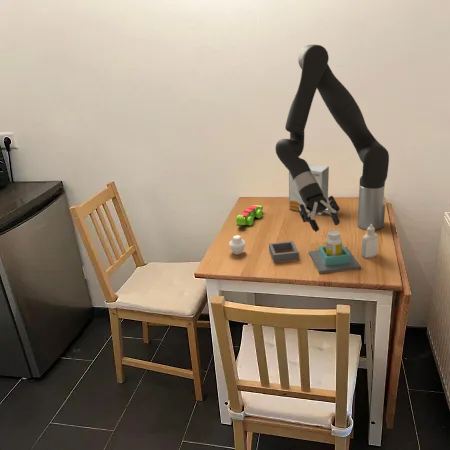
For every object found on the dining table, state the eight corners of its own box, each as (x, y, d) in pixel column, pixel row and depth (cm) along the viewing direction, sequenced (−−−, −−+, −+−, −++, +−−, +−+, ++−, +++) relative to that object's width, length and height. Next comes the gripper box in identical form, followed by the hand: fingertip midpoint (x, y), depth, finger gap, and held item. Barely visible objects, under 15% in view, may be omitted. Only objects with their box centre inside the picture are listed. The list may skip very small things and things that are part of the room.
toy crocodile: (254, 210, 201) (253, 198, 198) (267, 213, 197) (266, 200, 195) (231, 228, 186) (230, 215, 184) (245, 231, 183) (244, 217, 180)
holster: (293, 248, 166) (292, 240, 165) (298, 259, 158) (298, 252, 157) (269, 250, 166) (268, 243, 164) (273, 262, 157) (273, 255, 156)
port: (346, 249, 162) (347, 239, 160) (360, 268, 149) (361, 258, 147) (308, 253, 161) (308, 243, 160) (319, 273, 148) (319, 263, 147)
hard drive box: (288, 209, 198) (287, 166, 190) (296, 203, 204) (295, 161, 196) (321, 215, 190) (321, 171, 182) (328, 209, 196) (329, 165, 187)
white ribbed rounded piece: (245, 256, 163) (243, 239, 160) (228, 256, 164) (227, 239, 161) (247, 248, 169) (246, 231, 166) (231, 248, 170) (229, 231, 167)
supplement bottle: (341, 254, 157) (342, 229, 152) (341, 262, 152) (342, 236, 148) (326, 253, 158) (326, 229, 154) (325, 261, 153) (325, 236, 149)
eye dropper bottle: (378, 258, 154) (381, 227, 149) (362, 258, 155) (363, 227, 150) (376, 252, 158) (378, 221, 153) (360, 252, 159) (361, 222, 154)
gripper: (295, 186, 153) (315, 228, 148) (329, 177, 158) (349, 218, 153) (287, 196, 159) (306, 237, 155) (320, 187, 164) (339, 226, 160)
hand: (327, 227), depth 154 cm, fingers open, 8 cm apart
